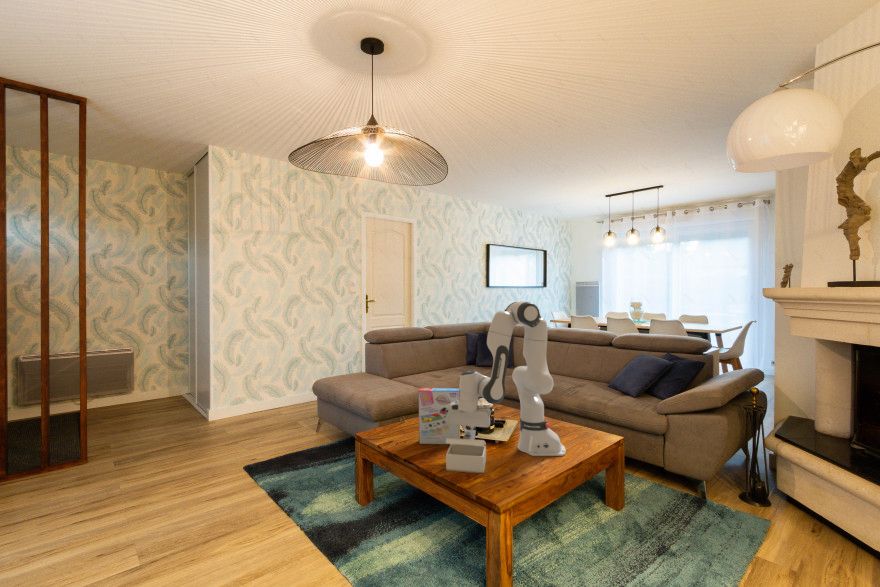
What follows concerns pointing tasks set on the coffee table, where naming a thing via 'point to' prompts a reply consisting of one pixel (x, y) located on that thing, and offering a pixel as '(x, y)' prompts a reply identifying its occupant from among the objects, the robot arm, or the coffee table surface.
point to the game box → (436, 415)
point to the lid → (466, 440)
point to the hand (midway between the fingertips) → (468, 435)
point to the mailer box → (466, 458)
